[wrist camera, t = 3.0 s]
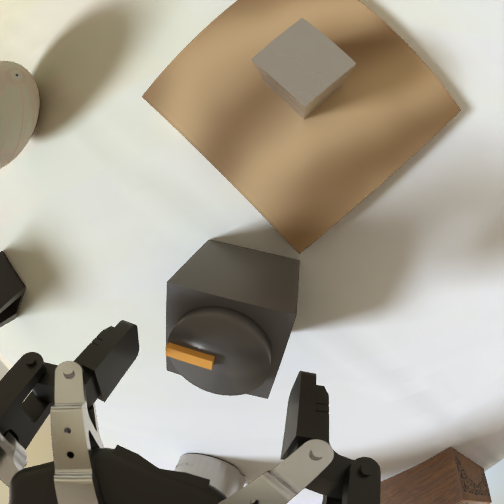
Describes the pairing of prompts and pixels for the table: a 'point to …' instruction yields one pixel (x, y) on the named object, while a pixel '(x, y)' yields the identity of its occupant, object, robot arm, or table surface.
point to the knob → (230, 318)
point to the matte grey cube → (303, 67)
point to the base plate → (291, 123)
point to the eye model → (16, 109)
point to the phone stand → (9, 291)
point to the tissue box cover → (438, 482)
